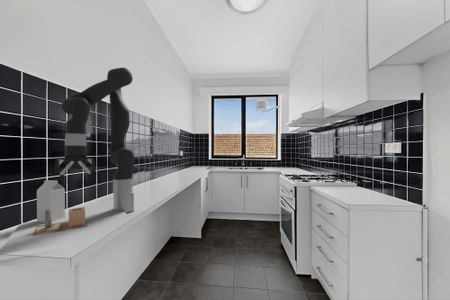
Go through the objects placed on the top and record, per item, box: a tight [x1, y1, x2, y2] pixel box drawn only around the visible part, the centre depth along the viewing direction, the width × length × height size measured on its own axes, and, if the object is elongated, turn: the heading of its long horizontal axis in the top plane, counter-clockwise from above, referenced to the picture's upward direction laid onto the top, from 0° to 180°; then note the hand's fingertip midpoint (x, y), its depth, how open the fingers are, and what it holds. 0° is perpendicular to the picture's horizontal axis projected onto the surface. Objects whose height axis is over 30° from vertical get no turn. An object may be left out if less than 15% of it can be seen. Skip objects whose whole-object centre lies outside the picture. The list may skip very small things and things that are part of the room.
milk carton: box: [36, 179, 66, 223], centre depth 100 cm, size 7×7×19 cm
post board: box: [32, 209, 88, 237], centre depth 90 cm, size 17×13×9 cm
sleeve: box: [68, 206, 86, 227], centre depth 93 cm, size 6×6×6 cm
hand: (75, 183), depth 93 cm, fingers open, 8 cm apart
